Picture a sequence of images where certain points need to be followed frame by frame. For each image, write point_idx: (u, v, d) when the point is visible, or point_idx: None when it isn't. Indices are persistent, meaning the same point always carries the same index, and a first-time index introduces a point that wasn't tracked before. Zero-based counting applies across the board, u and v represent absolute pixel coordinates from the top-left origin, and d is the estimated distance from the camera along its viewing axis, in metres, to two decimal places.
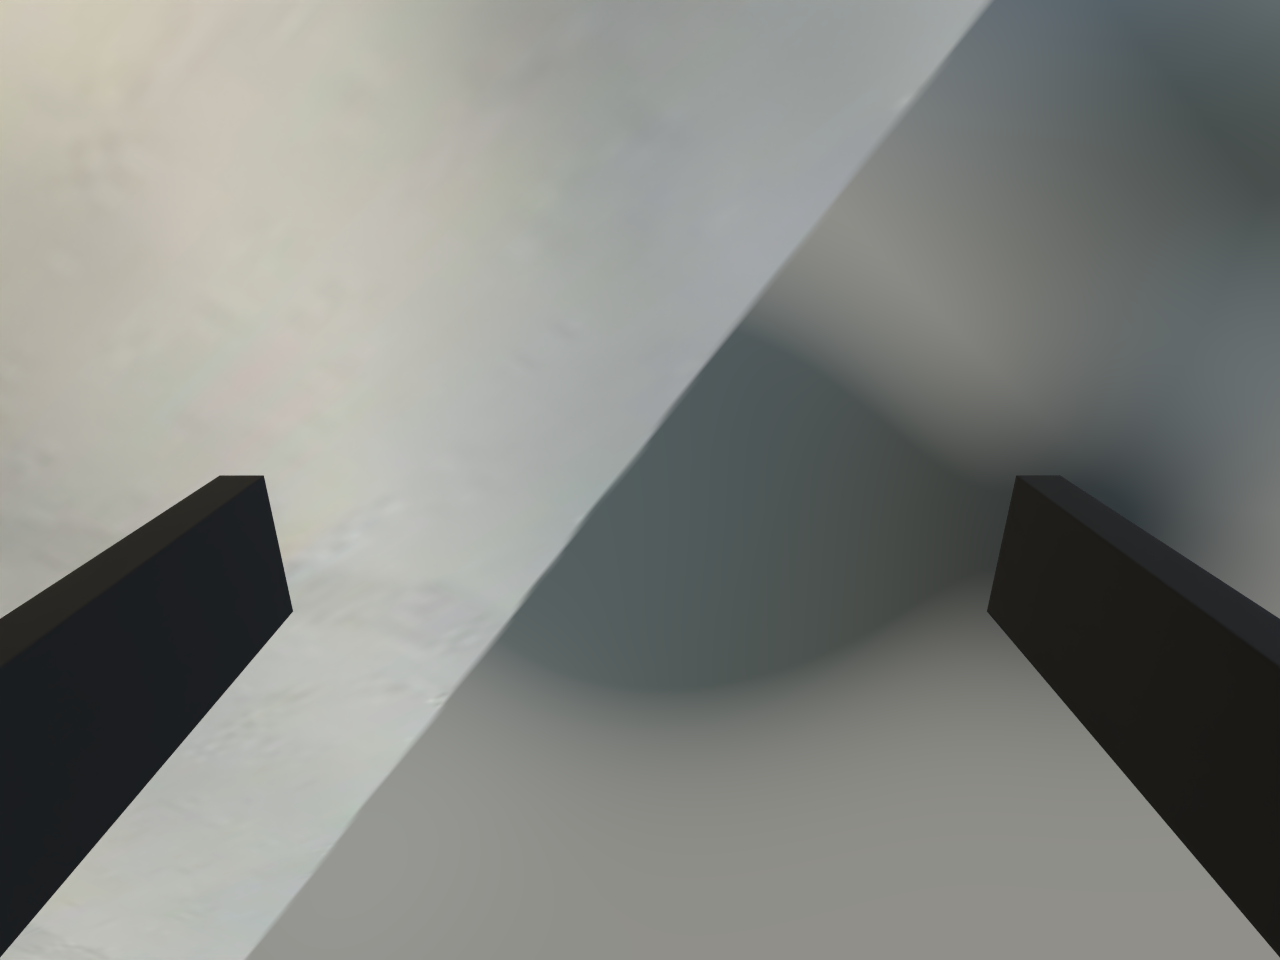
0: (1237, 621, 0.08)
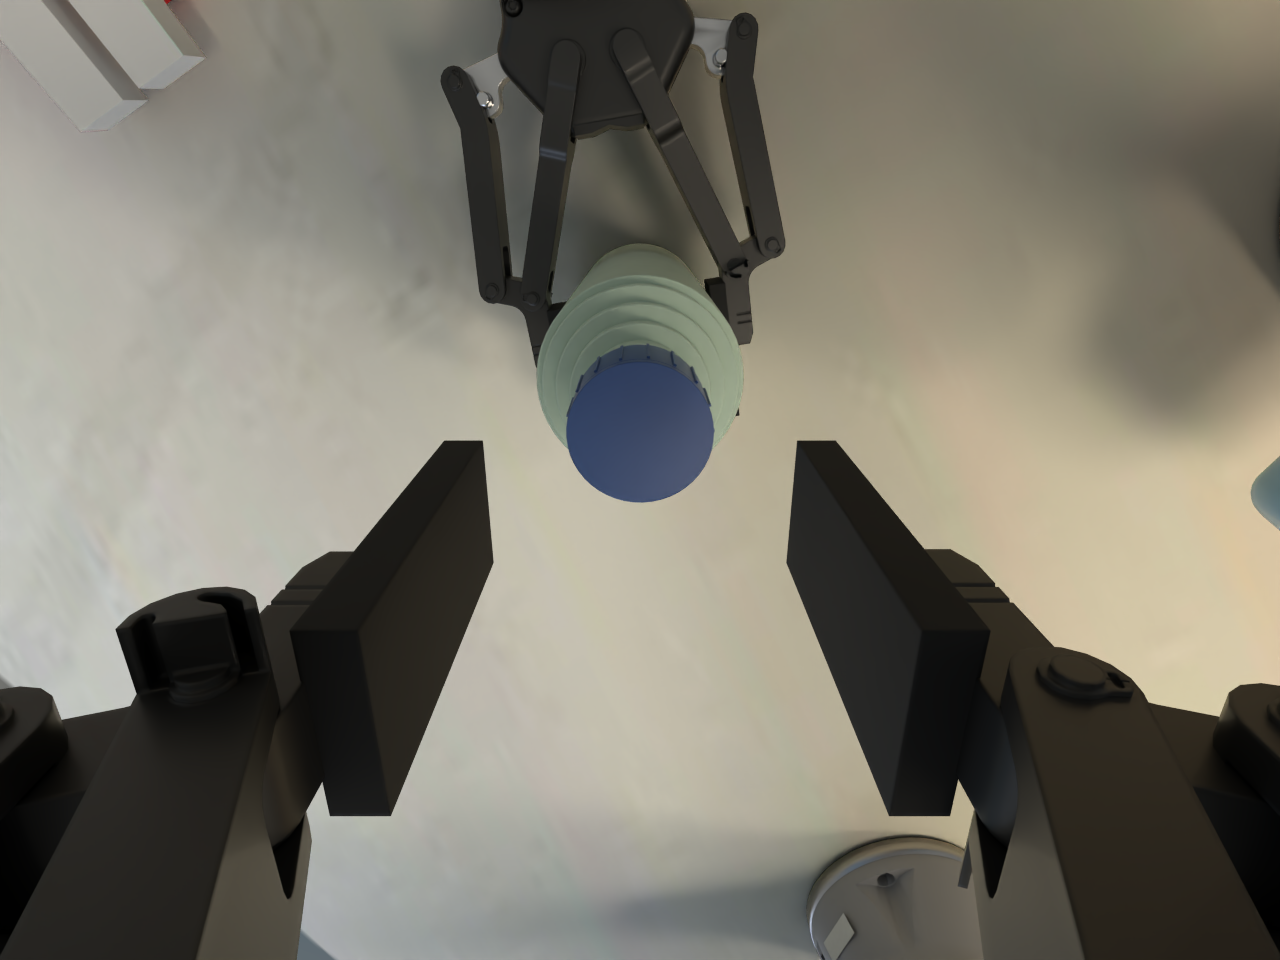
0: (882, 544, 0.10)
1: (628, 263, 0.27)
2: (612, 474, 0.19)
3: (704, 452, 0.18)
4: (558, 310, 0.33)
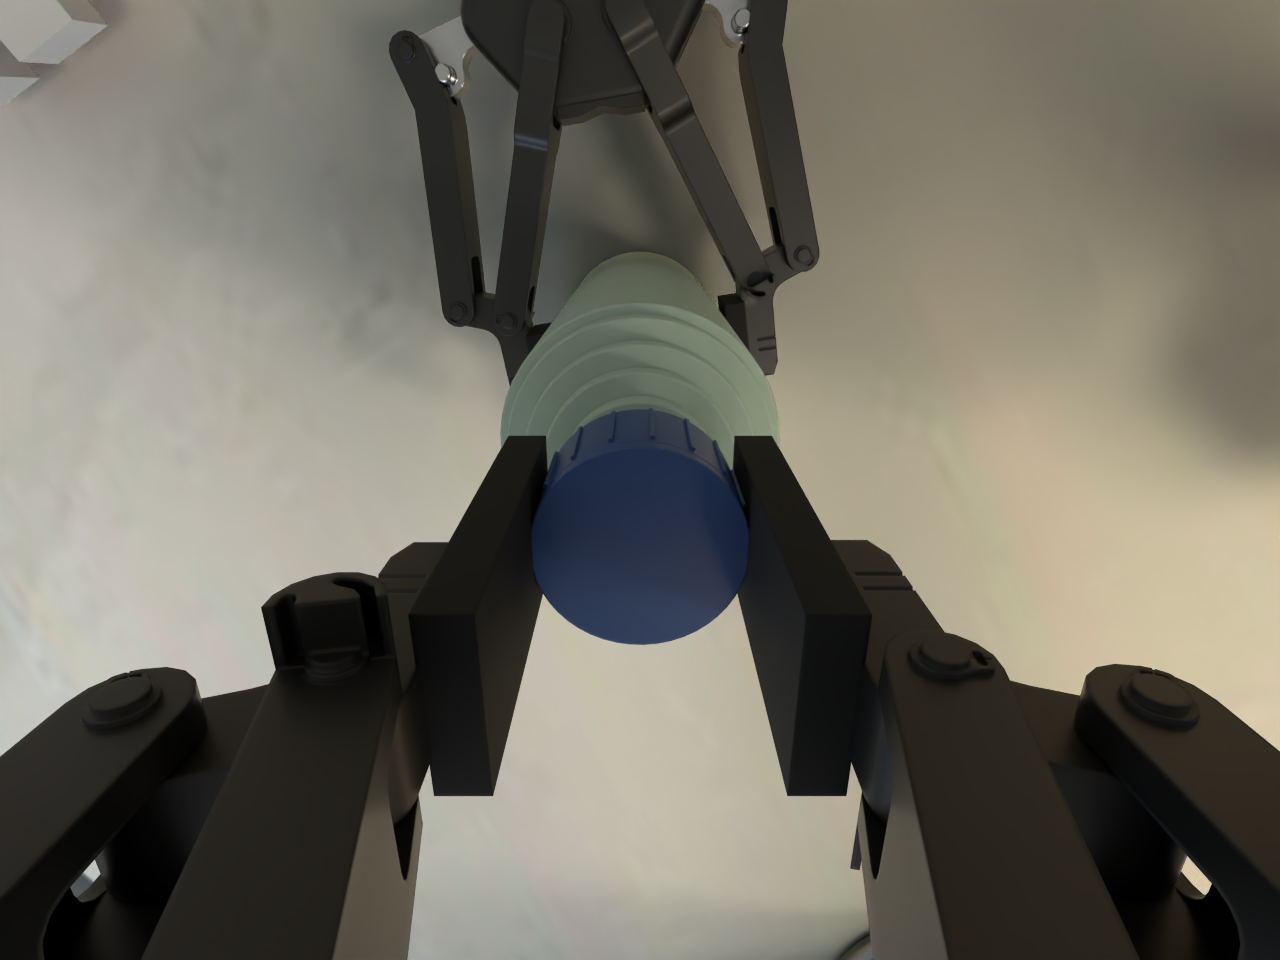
0: (790, 534, 0.10)
1: (625, 282, 0.21)
2: (599, 606, 0.13)
3: (736, 576, 0.12)
4: (540, 335, 0.27)
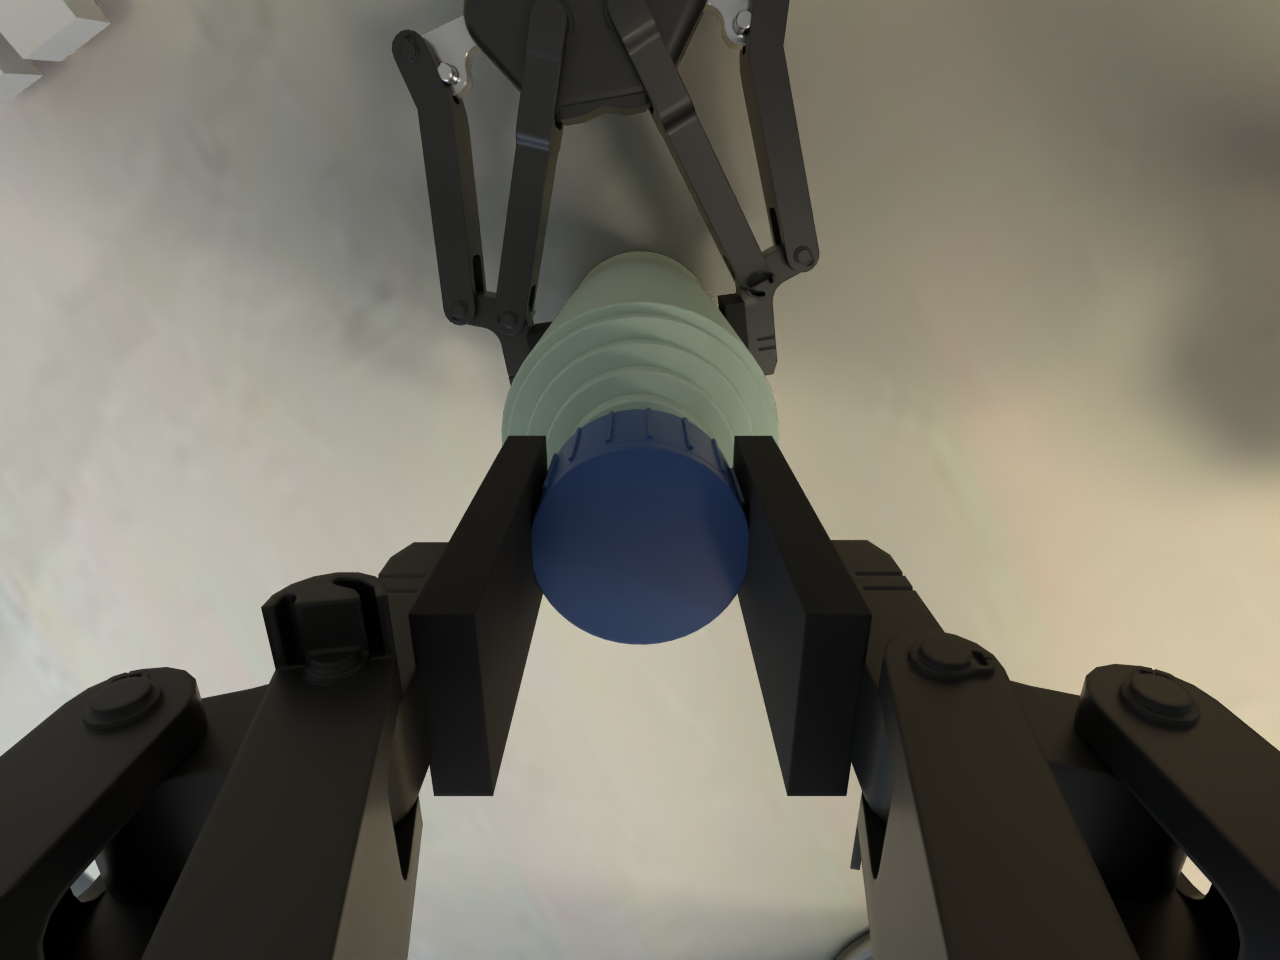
0: (790, 534, 0.10)
1: (625, 281, 0.21)
2: (716, 546, 0.12)
3: (598, 465, 0.12)
4: (540, 334, 0.27)
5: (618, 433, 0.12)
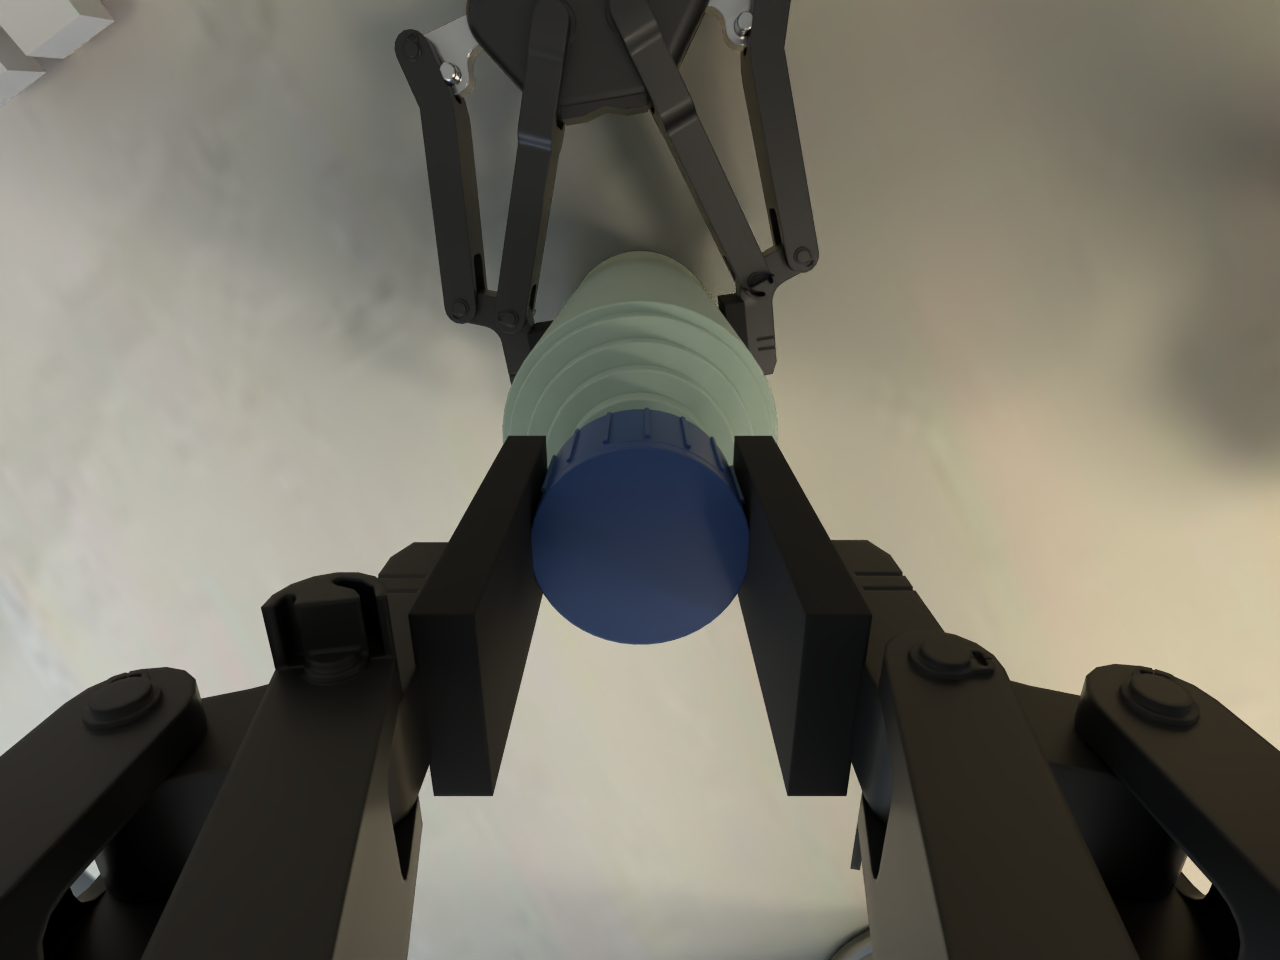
0: (790, 534, 0.10)
1: (626, 280, 0.21)
2: (586, 501, 0.12)
3: (593, 628, 0.13)
4: (541, 332, 0.27)
5: None
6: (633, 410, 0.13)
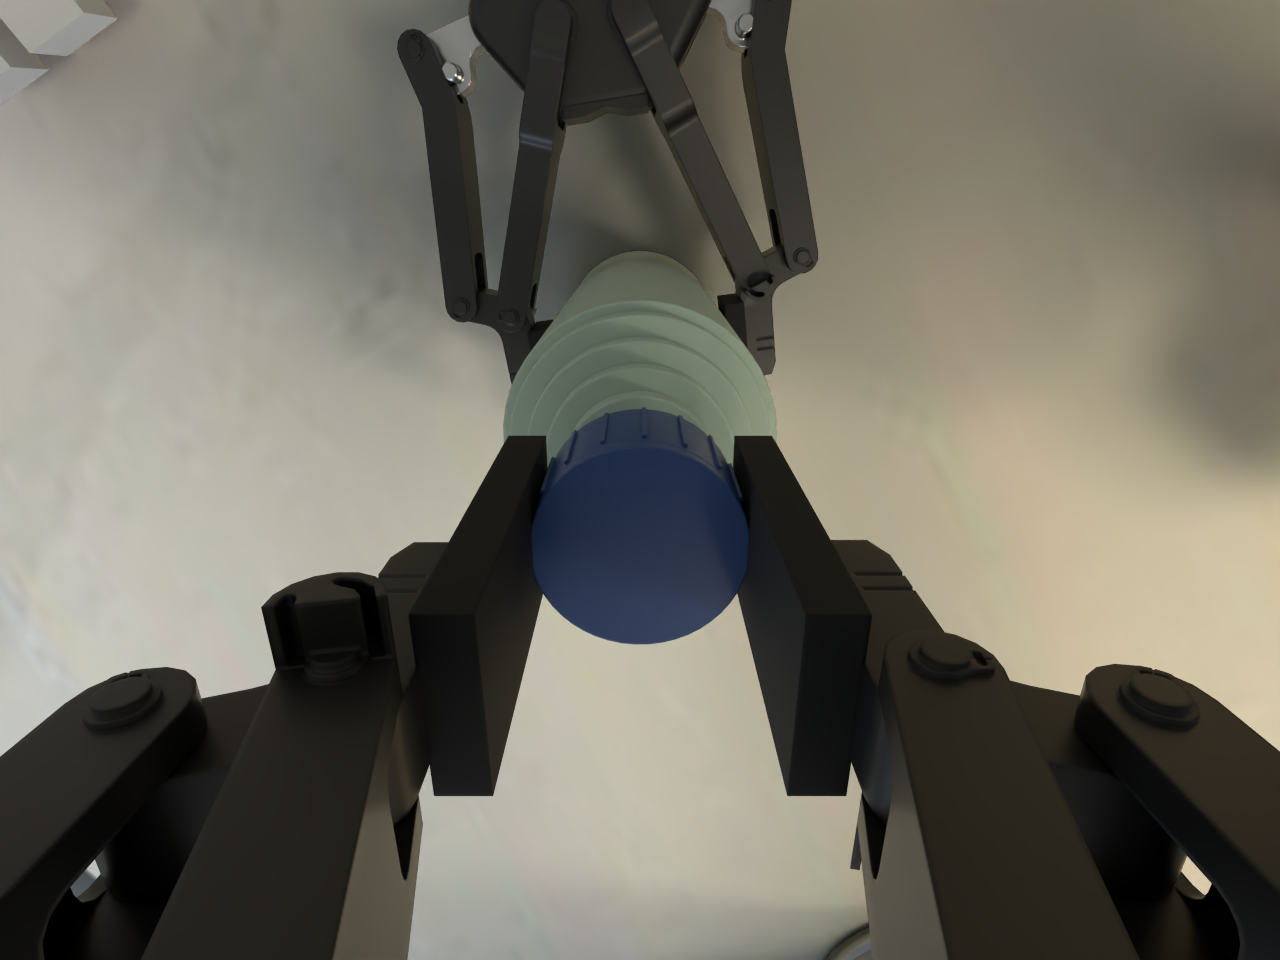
0: (790, 533, 0.10)
1: (627, 280, 0.21)
2: (629, 616, 0.13)
3: (740, 537, 0.12)
4: (541, 331, 0.27)
5: None
6: None
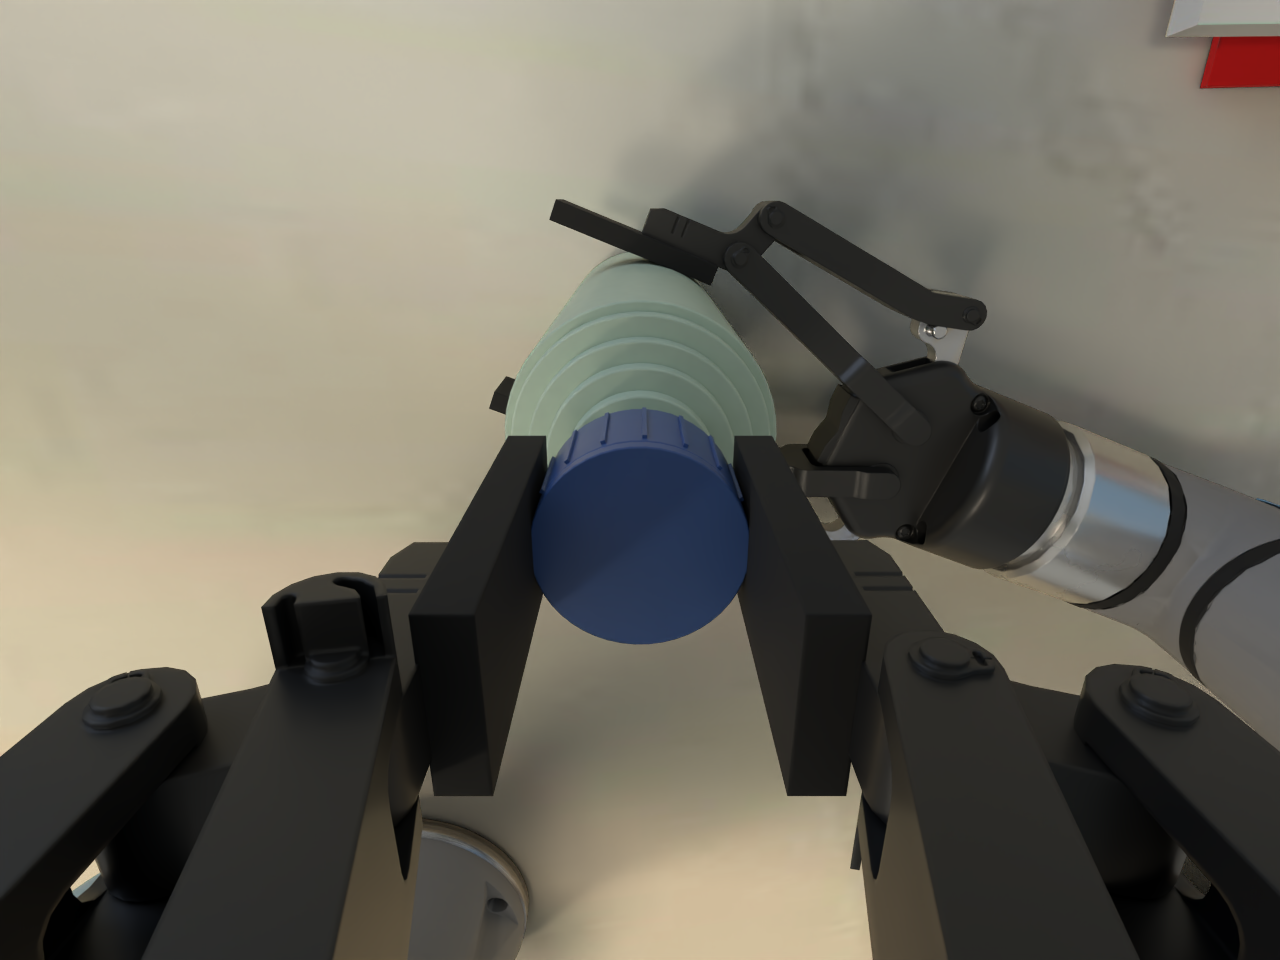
0: (790, 534, 0.10)
1: None
2: (628, 616, 0.13)
3: (740, 537, 0.12)
4: (711, 280, 0.27)
5: None
6: None
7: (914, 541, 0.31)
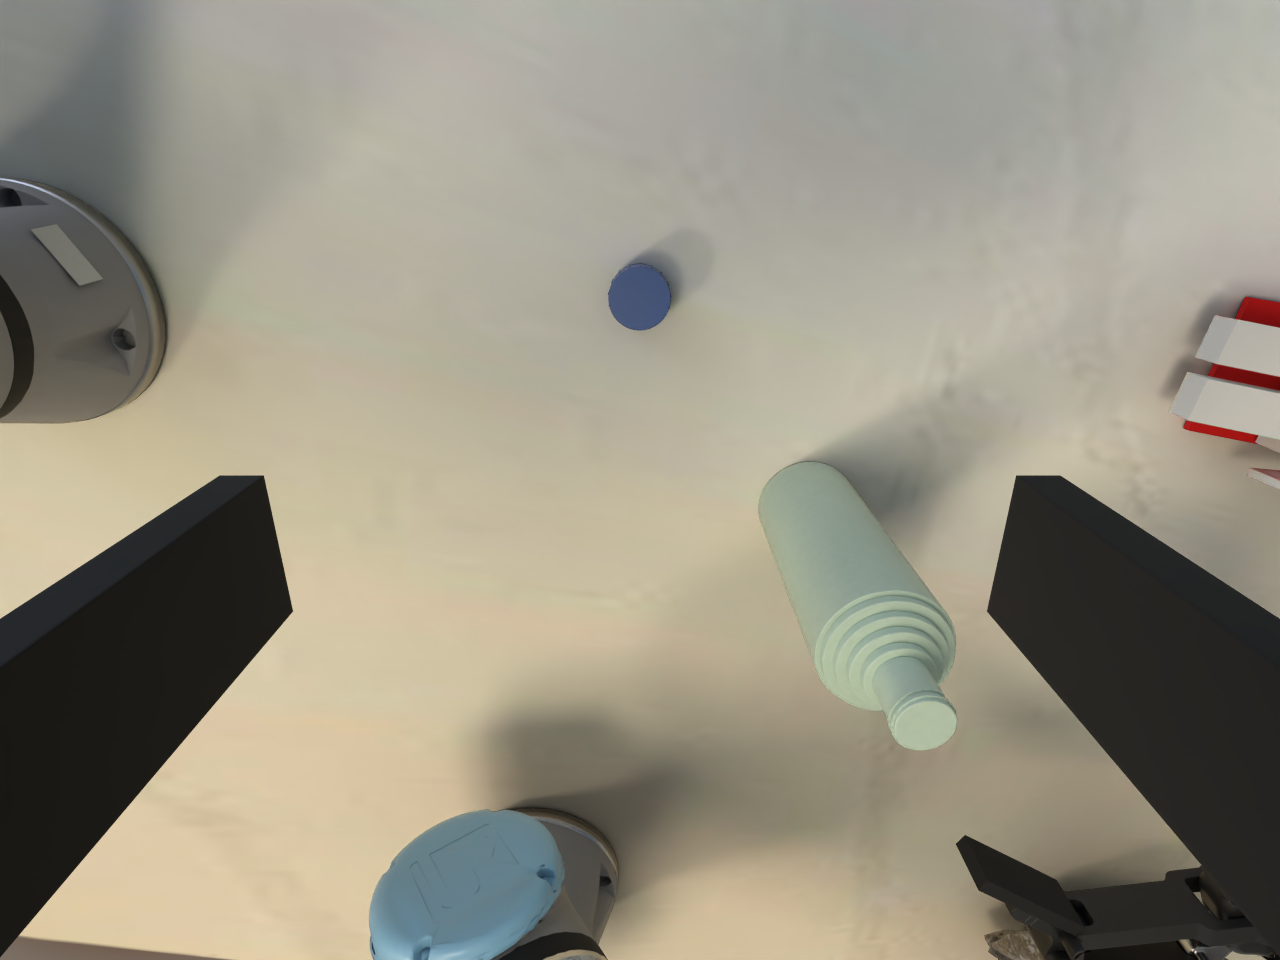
0: (1237, 621, 0.08)
1: None
2: (636, 320, 0.44)
3: (667, 294, 0.43)
4: None
5: None
6: None
7: None
